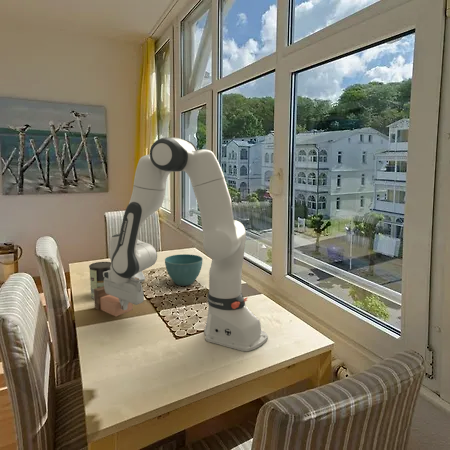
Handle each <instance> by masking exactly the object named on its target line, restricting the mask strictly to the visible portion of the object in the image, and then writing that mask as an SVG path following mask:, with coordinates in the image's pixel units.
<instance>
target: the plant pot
mask: <svg viewBox="0 0 450 450" xmlns="http://www.w3.org/2000/svg"><path fill="white" fill-rule="evenodd" d="M203 262H204V261H203V257H202V256H200V255H197V254H186V253H183V254H173V255H169V256H166V257H165V258H164V265H165V267H166V268H165V269H166V271H167V274H168V276H169V277H170V279H171V280H172V281H173V283H174V284H175V285H177V286H182V287H183V286H190V285H192V284H193V283H194V282H195V281H196V280H197V278H198V277H199V275H200V273H201V270H202V266H203Z"/></svg>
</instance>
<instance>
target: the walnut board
mask: <svg viewBox="0 0 450 450" xmlns="http://www.w3.org/2000/svg"><path fill="white" fill-rule="evenodd" d="M135 279H138V280H139V278H136V277H135ZM107 295H109V294H106V292H105V290H104V286H103V287H99V288H96V289H94V309H96V310H98V311H100V310H101V306H100V298H101V297H104V296H107Z"/></svg>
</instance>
